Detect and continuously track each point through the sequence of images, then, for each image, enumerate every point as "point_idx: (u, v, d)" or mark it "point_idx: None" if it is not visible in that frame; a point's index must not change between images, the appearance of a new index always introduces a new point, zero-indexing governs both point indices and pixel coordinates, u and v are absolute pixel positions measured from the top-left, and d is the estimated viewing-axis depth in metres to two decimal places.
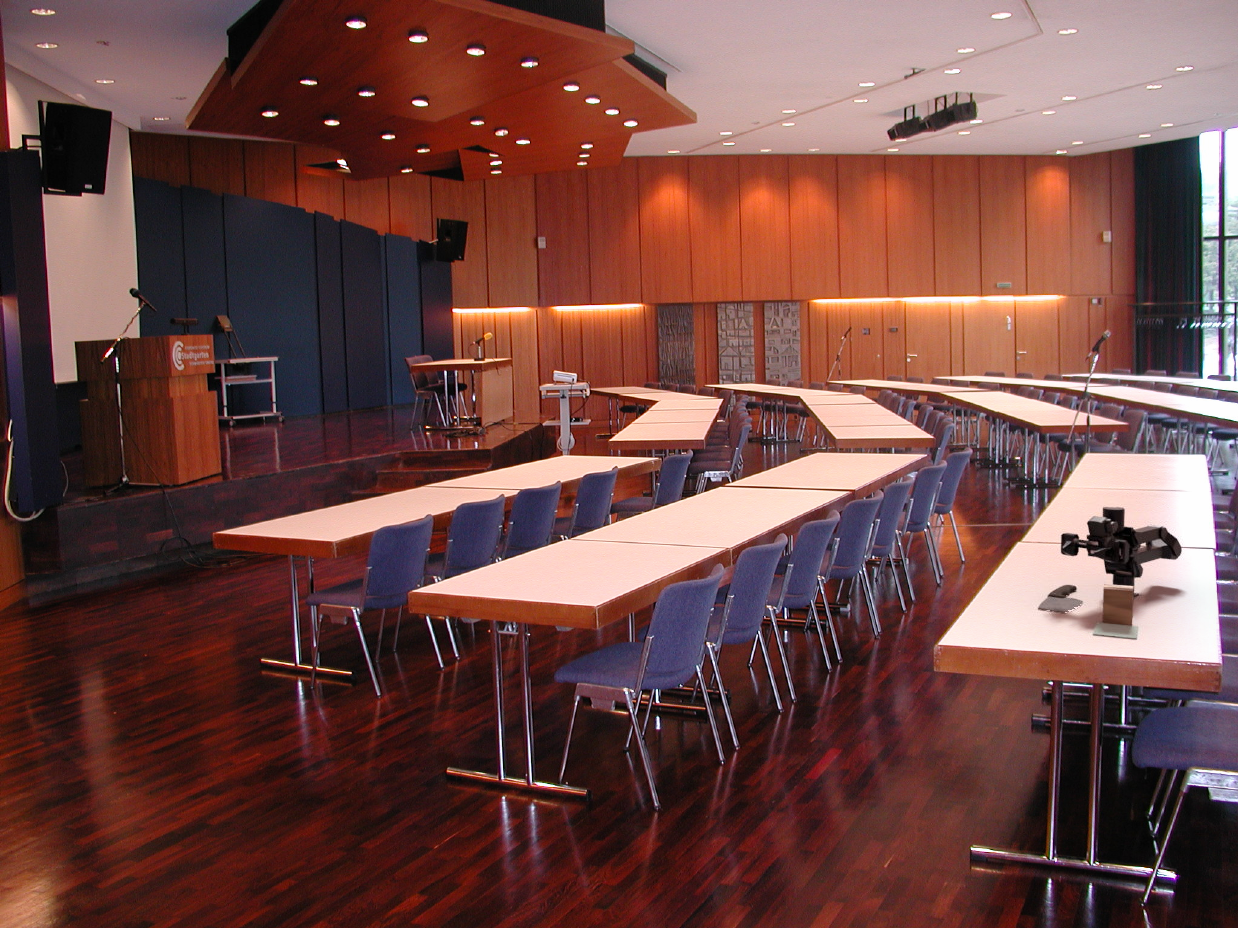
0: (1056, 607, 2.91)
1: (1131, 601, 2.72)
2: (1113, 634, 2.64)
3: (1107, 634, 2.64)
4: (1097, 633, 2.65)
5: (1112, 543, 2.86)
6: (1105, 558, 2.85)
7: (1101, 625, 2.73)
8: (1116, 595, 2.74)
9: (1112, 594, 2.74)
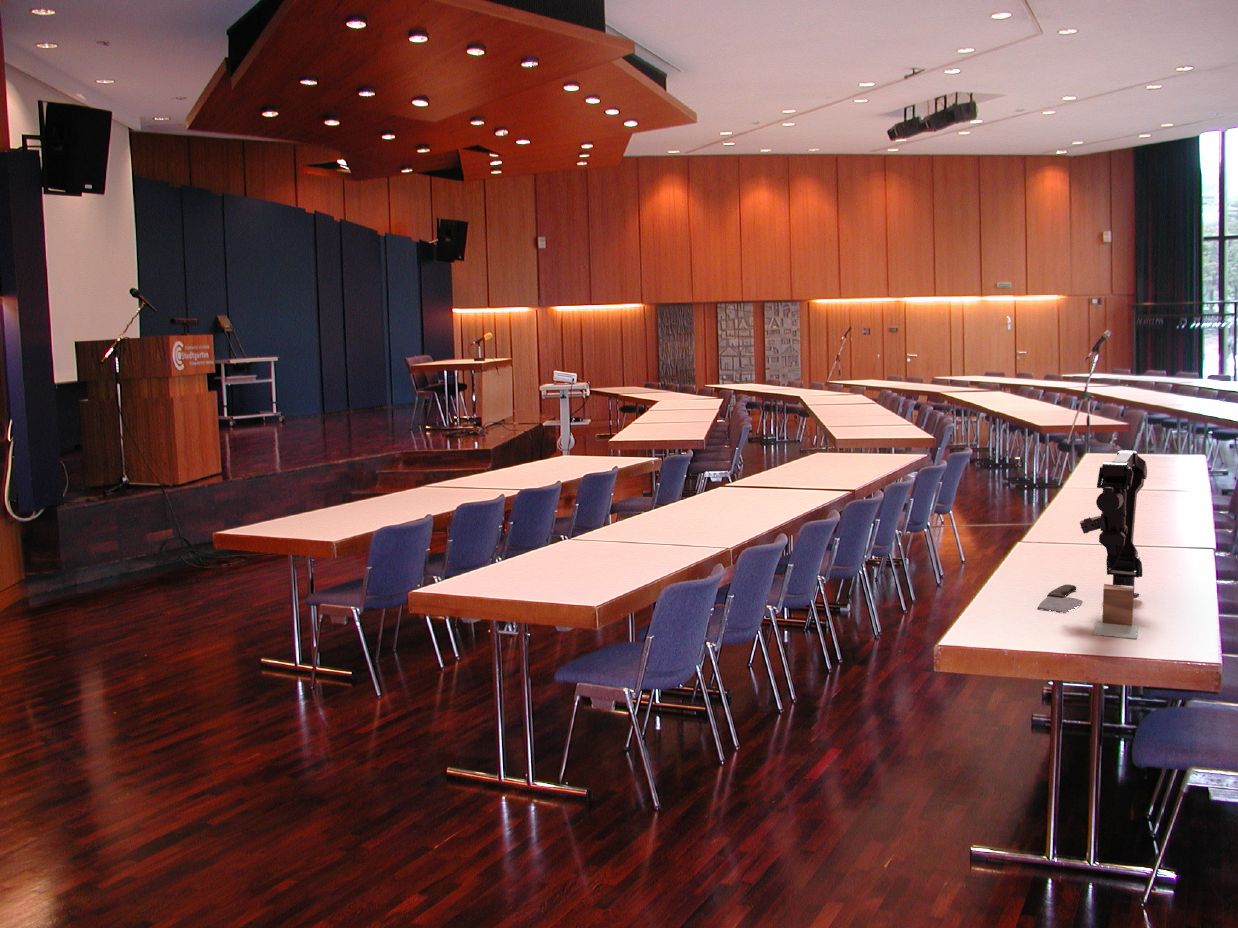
0: (1056, 607, 2.91)
1: (1131, 601, 2.72)
2: (1113, 634, 2.64)
3: (1107, 634, 2.64)
4: (1097, 633, 2.65)
5: (1103, 544, 2.83)
6: (1118, 554, 2.82)
7: (1101, 625, 2.73)
8: (1116, 595, 2.74)
9: (1112, 594, 2.74)
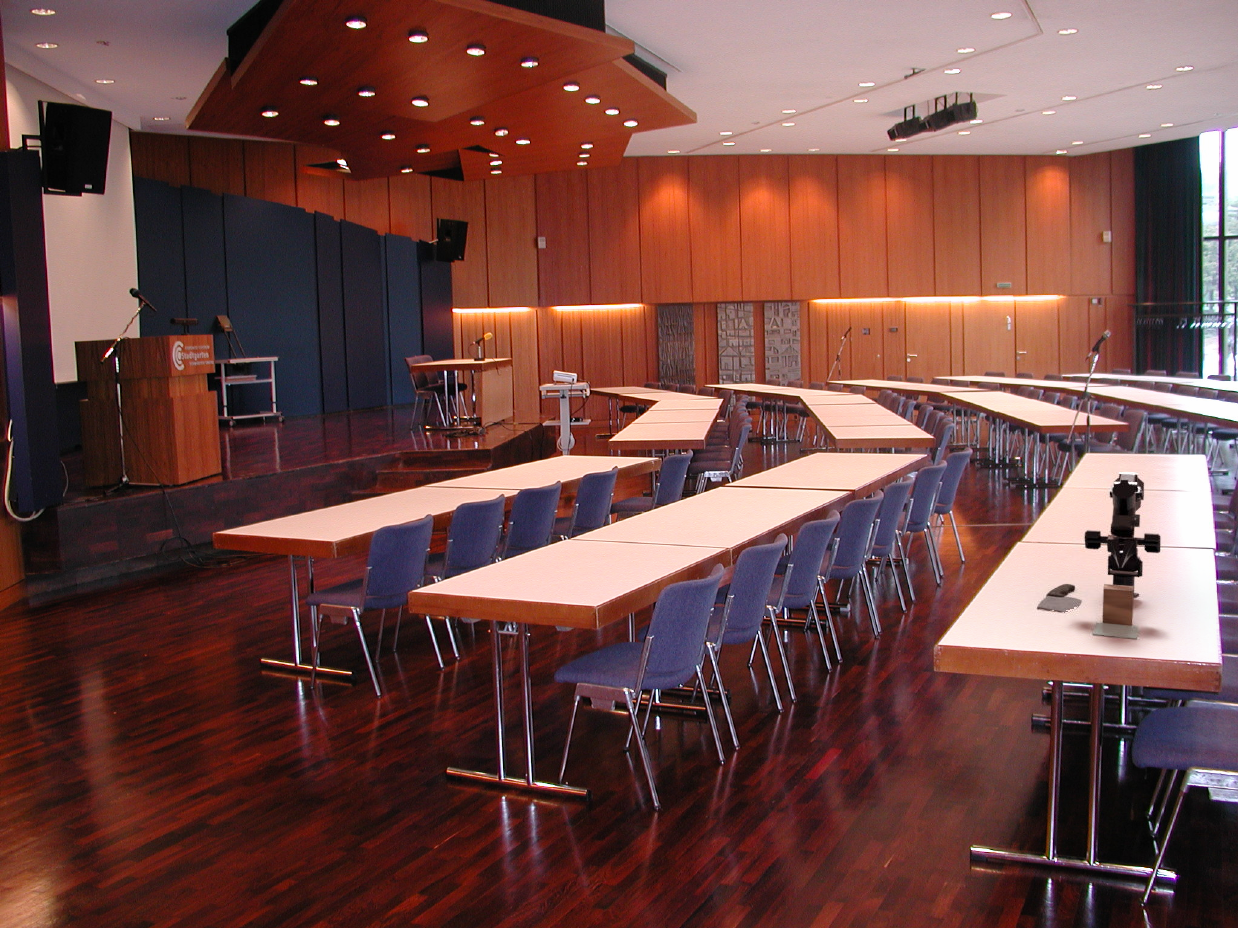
0: (1055, 607, 2.92)
1: (1131, 601, 2.72)
2: (1113, 634, 2.64)
3: (1107, 634, 2.64)
4: (1097, 633, 2.65)
5: (1130, 544, 2.82)
6: (1127, 559, 2.84)
7: (1101, 625, 2.73)
8: (1116, 595, 2.74)
9: (1112, 594, 2.74)
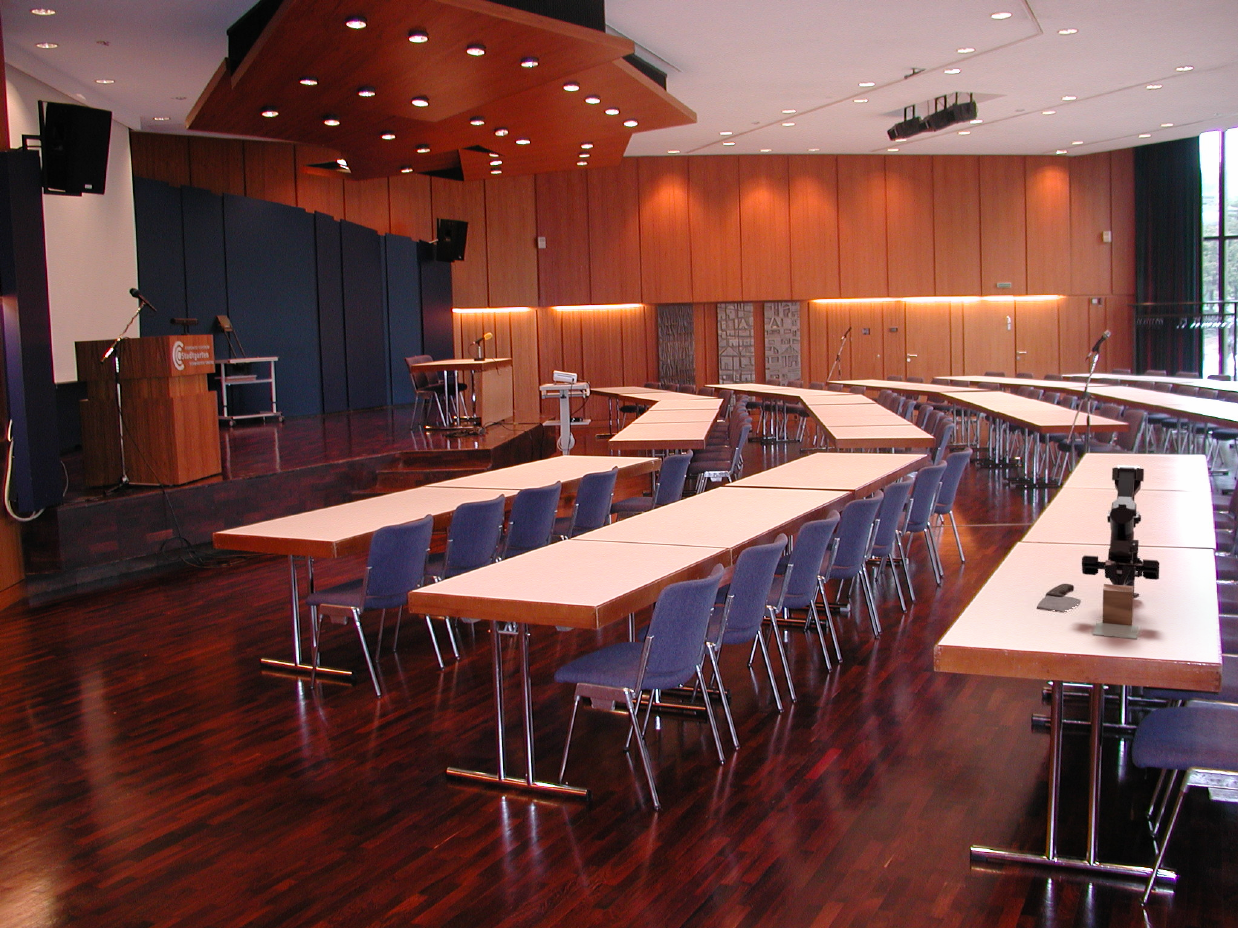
0: (1055, 606, 2.92)
1: (1131, 602, 2.71)
2: (1113, 634, 2.64)
3: (1107, 634, 2.64)
4: (1097, 633, 2.65)
5: (1128, 570, 2.76)
6: (1125, 585, 2.78)
7: (1101, 625, 2.73)
8: (1116, 596, 2.73)
9: (1112, 595, 2.73)
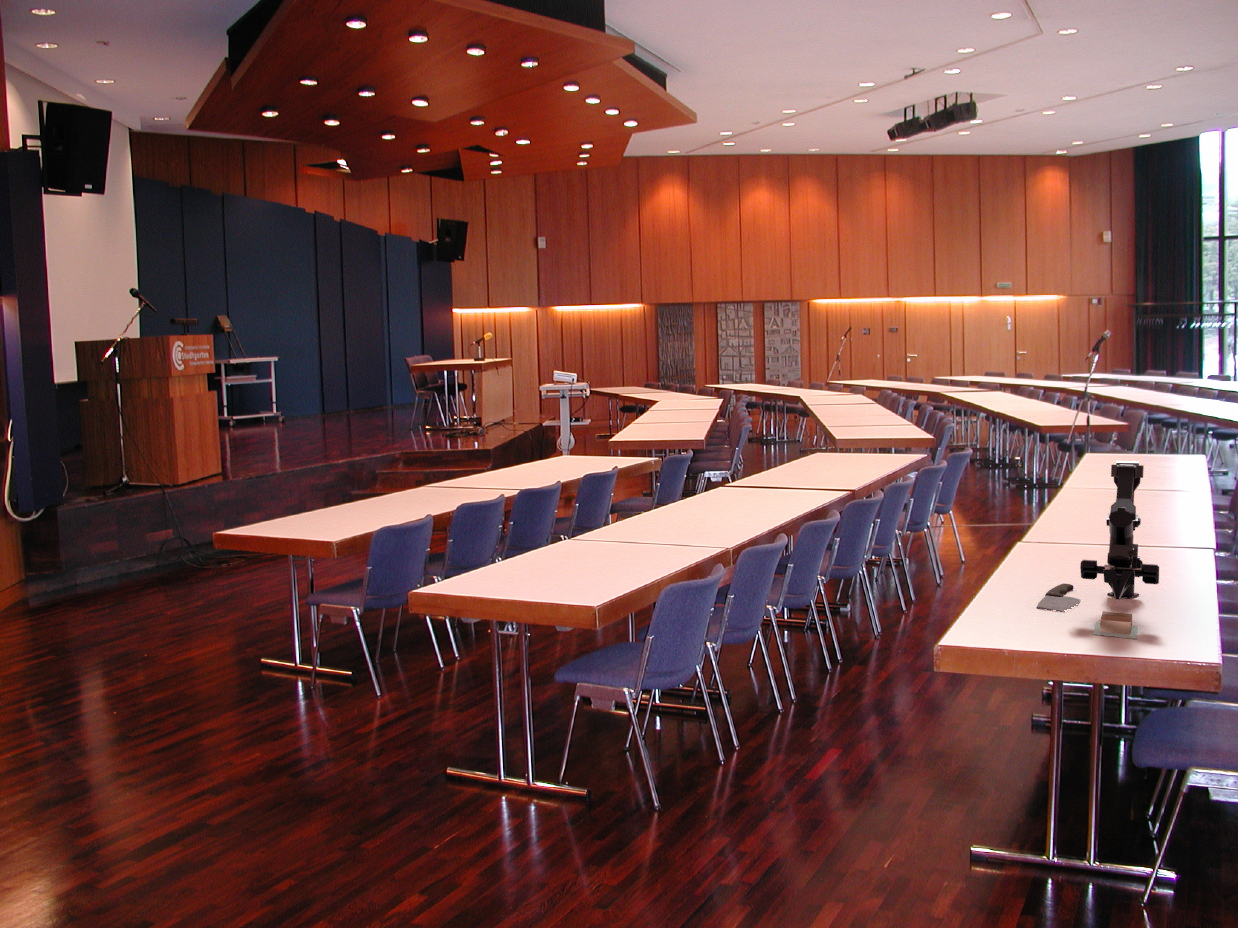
0: (1054, 606, 2.92)
1: None
2: (1113, 634, 2.64)
3: (1107, 634, 2.64)
4: (1097, 633, 2.65)
5: (1127, 575, 2.72)
6: (1124, 590, 2.73)
7: None
8: None
9: None
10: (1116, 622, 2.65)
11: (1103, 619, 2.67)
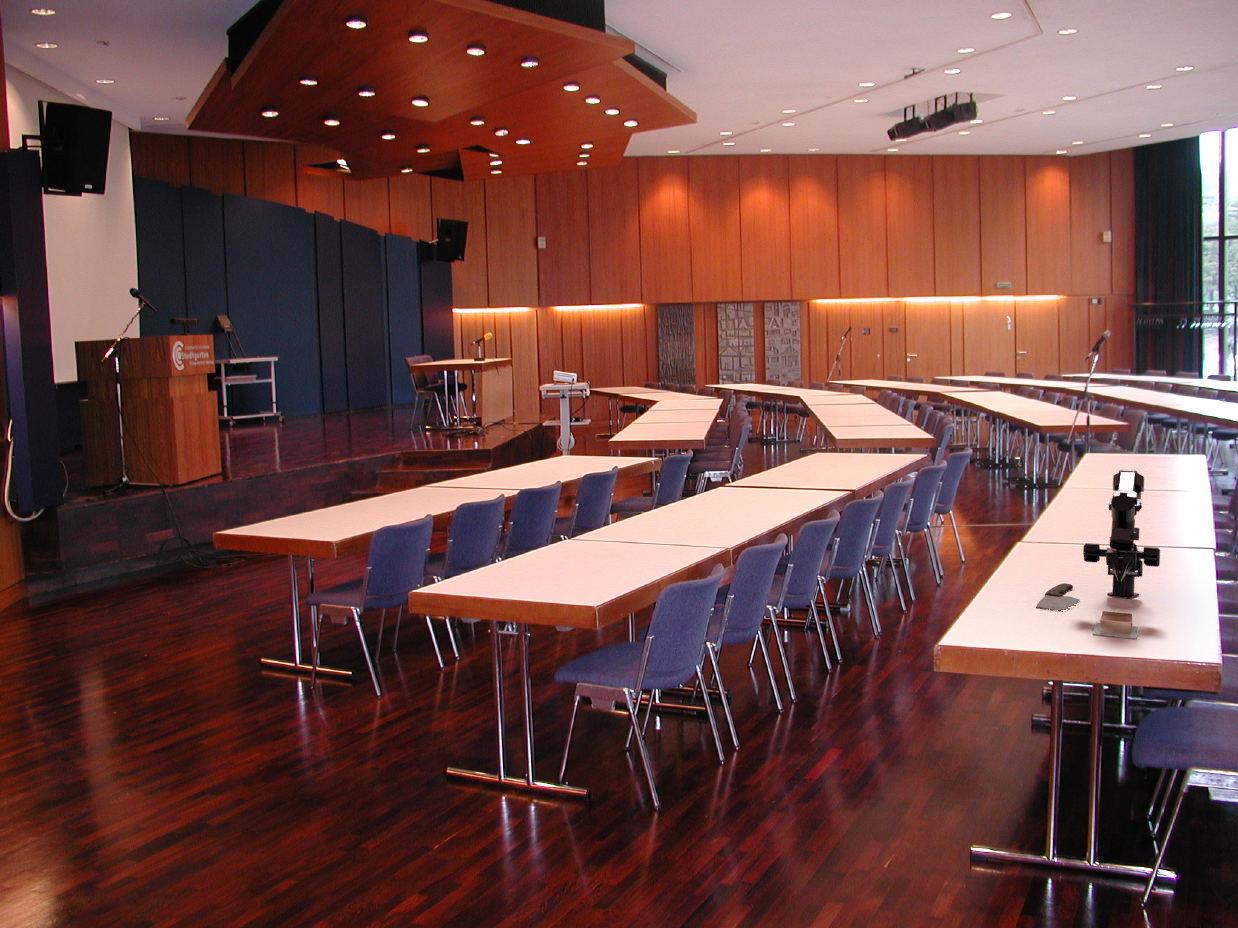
0: (1054, 606, 2.93)
1: None
2: (1113, 634, 2.64)
3: (1107, 634, 2.64)
4: (1097, 633, 2.65)
5: (1129, 557, 2.80)
6: (1126, 572, 2.82)
7: None
8: None
9: None
10: (1116, 622, 2.65)
11: (1103, 619, 2.67)
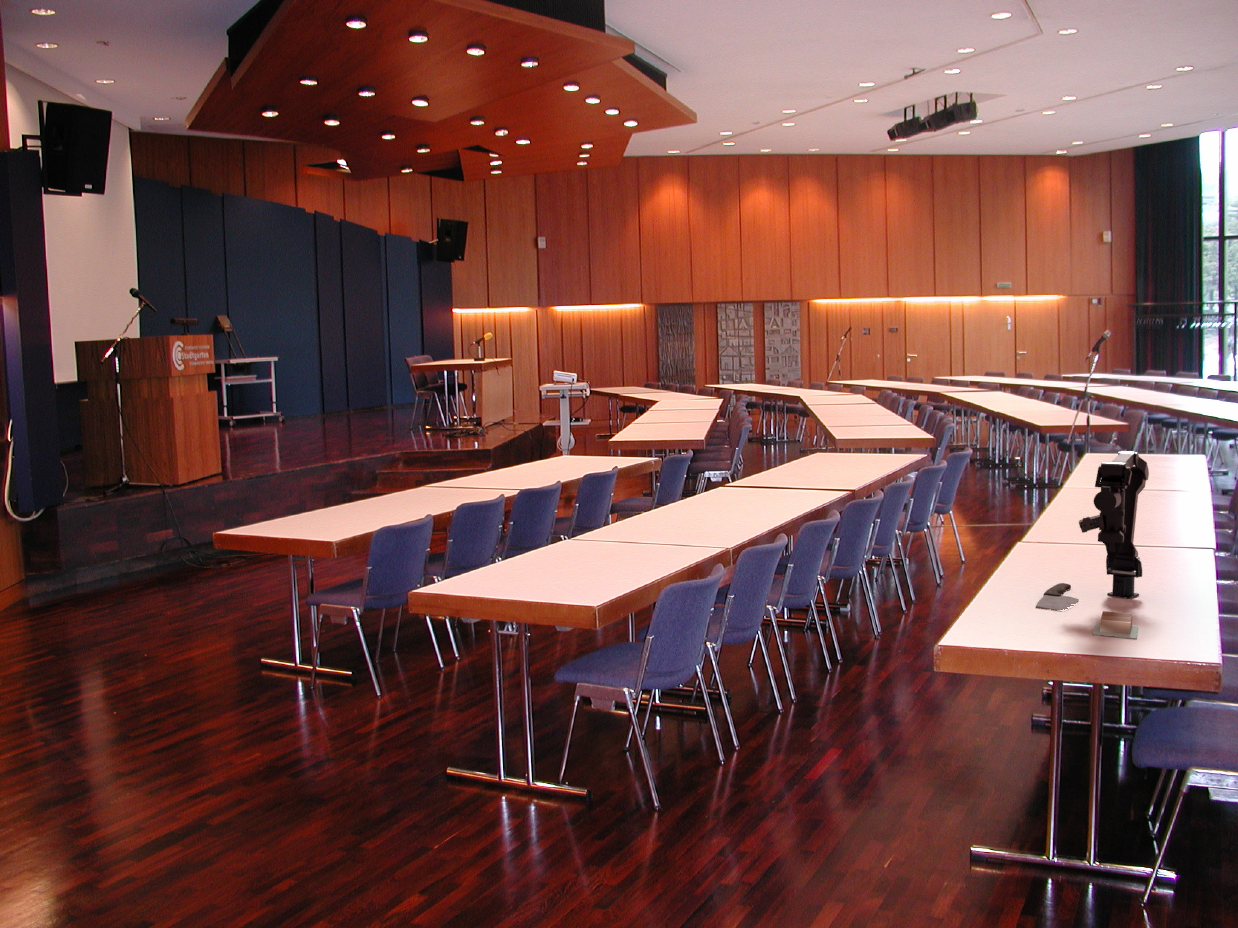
0: (1054, 606, 2.93)
1: None
2: (1113, 634, 2.64)
3: (1107, 634, 2.64)
4: (1097, 633, 2.65)
5: (1102, 541, 2.88)
6: (1117, 551, 2.87)
7: None
8: None
9: None
10: (1116, 622, 2.65)
11: (1103, 619, 2.67)
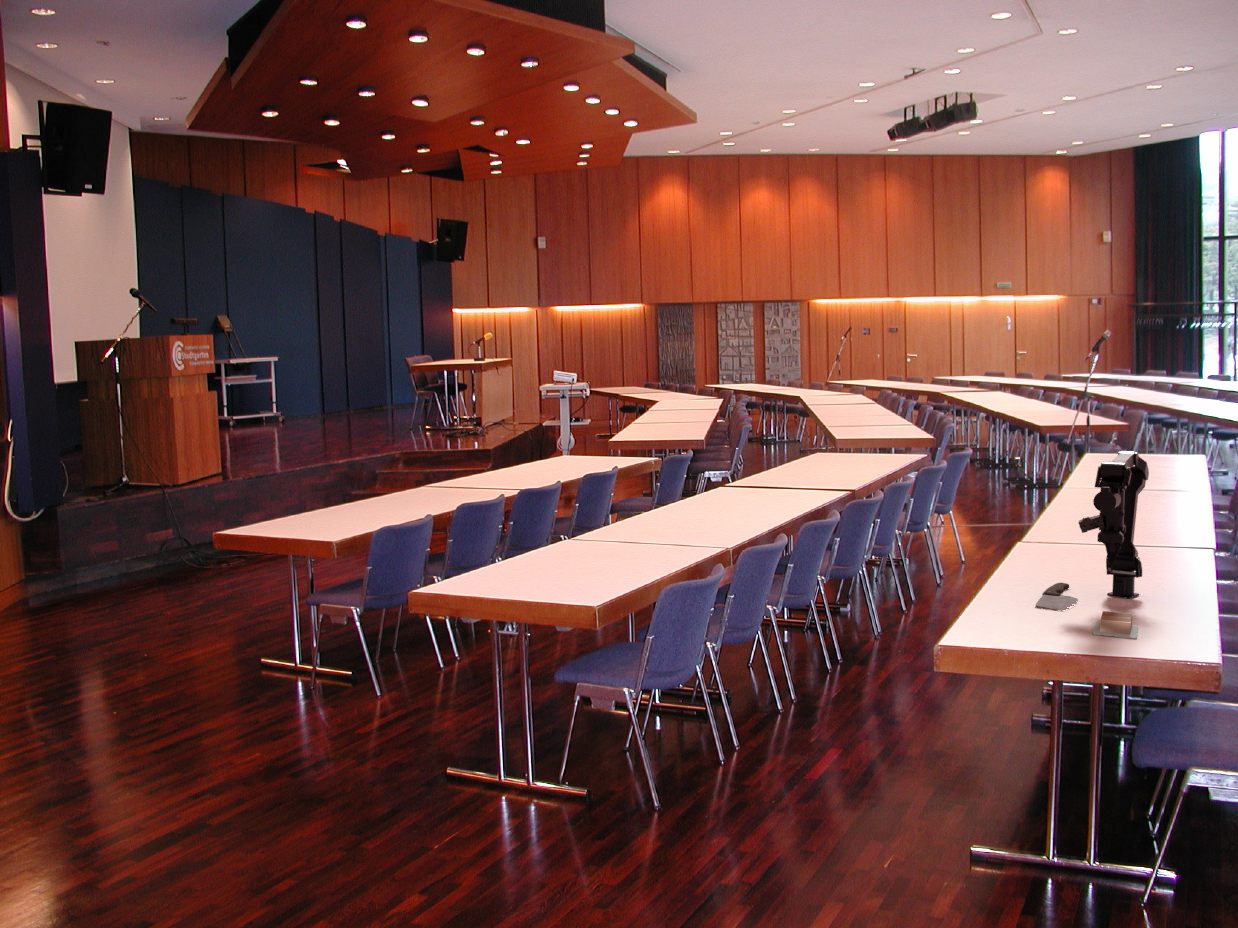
0: (1053, 605, 2.93)
1: None
2: (1113, 634, 2.64)
3: (1107, 634, 2.64)
4: (1097, 633, 2.65)
5: (1102, 542, 2.88)
6: (1117, 551, 2.87)
7: None
8: None
9: None
10: (1116, 622, 2.65)
11: (1103, 619, 2.67)
